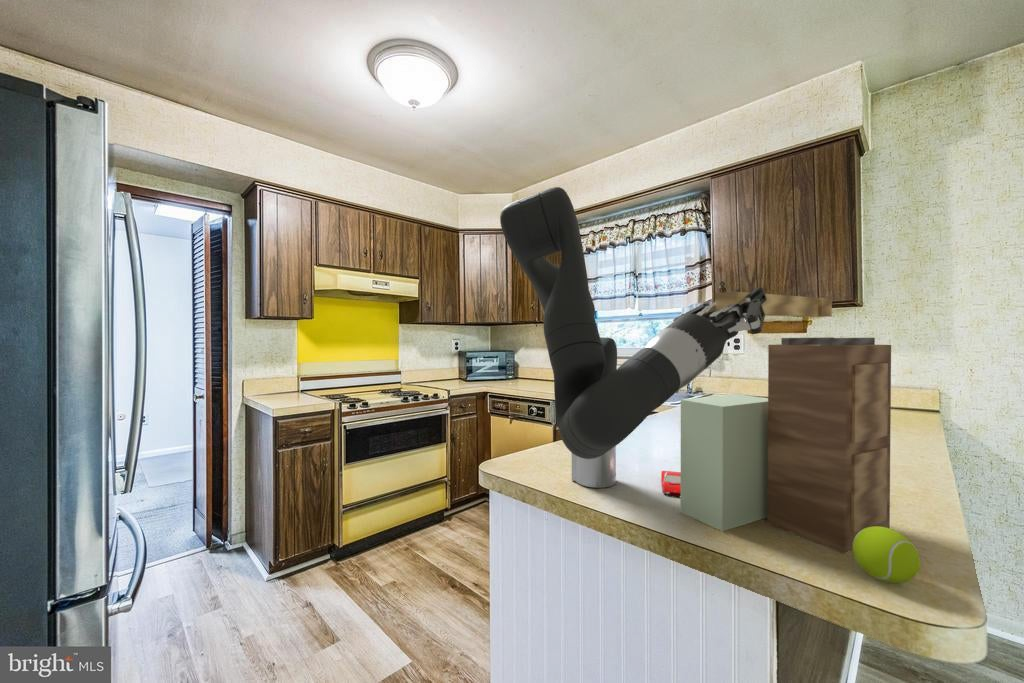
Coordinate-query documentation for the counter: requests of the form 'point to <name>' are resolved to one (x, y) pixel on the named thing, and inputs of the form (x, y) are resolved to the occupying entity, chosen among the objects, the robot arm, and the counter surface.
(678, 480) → the toy car
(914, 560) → the tennis ball
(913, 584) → the counter surface
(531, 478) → the counter surface
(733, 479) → the tall sage green block
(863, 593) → the counter surface
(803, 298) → the wooden plank
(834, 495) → the wooden cabinet
